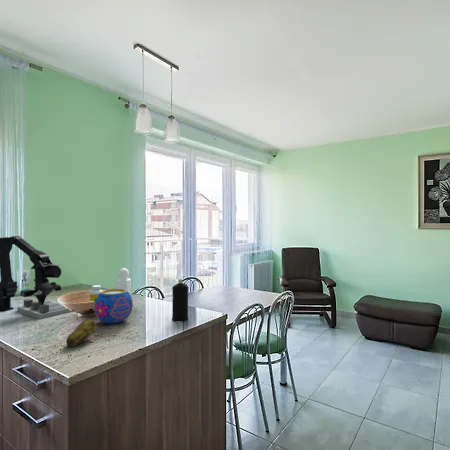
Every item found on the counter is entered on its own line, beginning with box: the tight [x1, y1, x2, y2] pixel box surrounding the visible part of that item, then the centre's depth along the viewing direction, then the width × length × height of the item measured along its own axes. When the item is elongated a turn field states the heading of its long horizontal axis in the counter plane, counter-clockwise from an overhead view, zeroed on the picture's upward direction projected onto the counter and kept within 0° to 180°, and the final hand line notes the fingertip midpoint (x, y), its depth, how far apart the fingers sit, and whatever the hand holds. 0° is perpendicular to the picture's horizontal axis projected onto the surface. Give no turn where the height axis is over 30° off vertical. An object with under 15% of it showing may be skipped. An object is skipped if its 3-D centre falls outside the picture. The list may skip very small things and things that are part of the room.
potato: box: [65, 319, 97, 348], centre depth 125 cm, size 8×13×8 cm, turn 142°
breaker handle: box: [31, 301, 40, 310], centre depth 165 cm, size 4×3×3 cm
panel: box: [16, 298, 71, 320], centre depth 169 cm, size 25×18×6 cm
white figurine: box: [115, 267, 132, 296], centre depth 178 cm, size 6×6×22 cm
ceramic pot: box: [94, 288, 134, 325], centre depth 151 cm, size 18×18×15 cm
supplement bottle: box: [89, 284, 103, 302], centre depth 173 cm, size 7×7×13 cm
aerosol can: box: [171, 278, 190, 322], centre depth 155 cm, size 8×8×20 cm
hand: (41, 306), depth 167 cm, fingers closed
